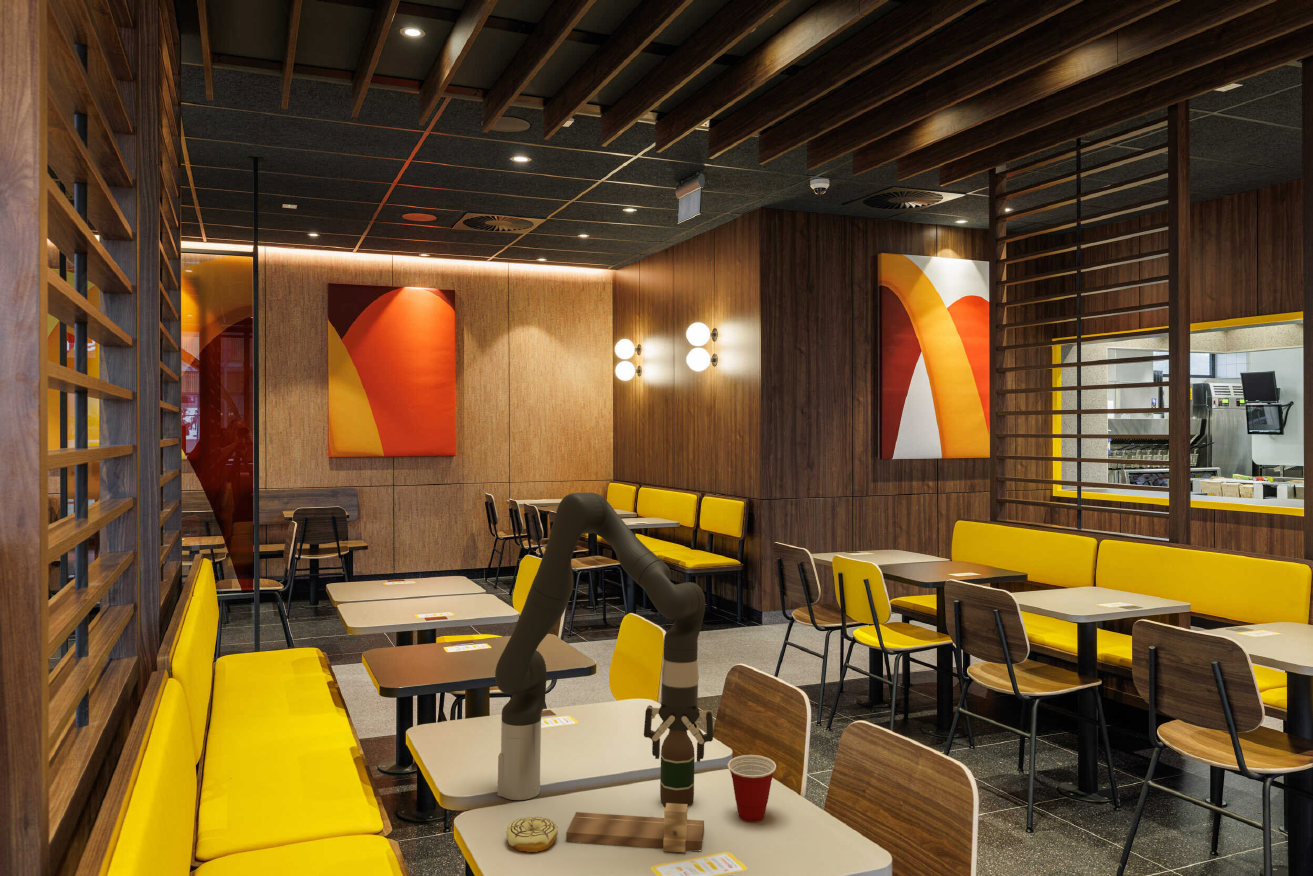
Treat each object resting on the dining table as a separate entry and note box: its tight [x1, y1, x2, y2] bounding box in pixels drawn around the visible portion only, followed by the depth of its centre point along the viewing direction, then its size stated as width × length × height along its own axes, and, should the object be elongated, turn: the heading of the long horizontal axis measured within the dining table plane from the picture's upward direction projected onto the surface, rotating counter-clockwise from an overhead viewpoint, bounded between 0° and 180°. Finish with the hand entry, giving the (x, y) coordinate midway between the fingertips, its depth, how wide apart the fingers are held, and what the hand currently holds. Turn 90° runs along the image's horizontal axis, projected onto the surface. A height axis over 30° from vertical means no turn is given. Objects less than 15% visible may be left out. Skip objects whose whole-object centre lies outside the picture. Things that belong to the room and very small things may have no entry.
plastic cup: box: [727, 754, 777, 823], centre depth 198 cm, size 11×11×12 cm
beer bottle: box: [659, 729, 696, 808], centre depth 205 cm, size 8×8×24 cm
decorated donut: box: [505, 816, 559, 853], centre depth 184 cm, size 10×11×4 cm
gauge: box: [663, 803, 689, 853], centre depth 185 cm, size 4×10×8 cm, turn 174°
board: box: [565, 811, 705, 851], centre depth 187 cm, size 28×10×2 cm, turn 84°
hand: (678, 759), depth 183 cm, fingers open, 8 cm apart
